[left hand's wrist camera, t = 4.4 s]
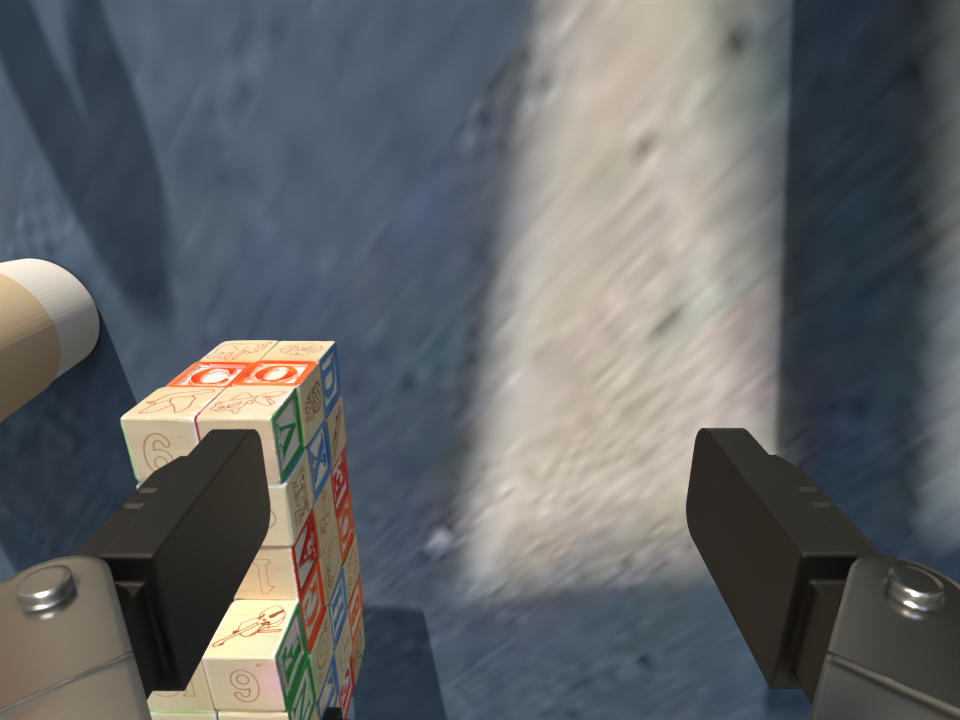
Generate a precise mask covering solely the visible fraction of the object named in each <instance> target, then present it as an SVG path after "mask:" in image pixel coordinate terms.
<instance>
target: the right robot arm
mask: <svg viewBox="0 0 960 720" xmlns="http://www.w3.org/2000/svg"><path fill="white" fill-rule="evenodd" d="M323 720H349V719H343V713H342V708H341V707H327V708H326V710H325V713H324V716H323Z"/></svg>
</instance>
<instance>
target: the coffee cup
mask: <svg viewBox="0 0 960 720" xmlns="http://www.w3.org/2000/svg"><path fill="white" fill-rule="evenodd" d="M98 336H99V316H98V312H97V309H96V306H95V304H94V302H93V300H92V298H91V296H90V294H89V293H88V291H87V290H86V289H85V287H84V286H83V285H82V284H81V283H80V282H79V281H78V280H77V279H76V278H75V277H74V276H73V275H72V274H70V273H69V272H68V271H66V270H65V269H63V268H61V267H59V266H57V265H55V264H53V263H50V262H47V261H44V260H39V259H21V260H15V261H9V262H4V263H0V422H1V421H3V420H4V419H6V418H7V417H8V416H10V415H11V414H12V413H14V412H15V411H16V410H18V409H19V408H21V407H22V406H23V405H25V404H26V403H27V402H29V401H30V400H31V399H33V398H34V397H36V396H37V395H38V394H40V393H41V392H42V391H44V390H45V389H46V388H47V387H48V386H49V385H50V384H51V382H52V381H53V380H55V379H56V378H58V377H59V376H60V375H62V374H63V373H65V372H66V371H67V370H69V369H70V368H72V367H73V366H74V365H76V364H77V363H79V362H80V361H82V360H83V359H84V358H86V357H87V356H88V355H89V354H90V353H91V351H92V350H93V349H94V347H95V345H96V343H97V340H98Z"/></svg>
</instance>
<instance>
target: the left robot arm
mask: <svg viewBox="0 0 960 720" xmlns="http://www.w3.org/2000/svg"><path fill="white" fill-rule="evenodd" d="M270 515H271V504H270V496H269V490H268V483H267V476H266V469H265V462H264V455H263V448H262V442H261V438H260V435H259V433H258V432H257V431H256V430H255V429H212V430H210V431H209V432H208V433H207V434H206V435H205V437H204V438H203V439H202V440H201V441H200V442H199V443H198V444H197V445H196V447H195V448H194V449H193V450H192V451H191V452H190V453H189V454H188V455H187V456H179V457H178V458H176V459H174V460H173V461H171V462H169V463H167V464H166V465H164V466H162V467H161V468H159V469H157V470H155V471H154V472H153V473H152V474H151V475H150V476H149V477H148V478H147V479H146V480H145V481H144V482H143V483H142V484H141V485H140V486H139V488H138V489H137V492H136V493H133V494H132V495H131V496H130V497H129V498H128V499H127V500H126V501H125V502H124V503H123V504H122V509H117V511H116V512H115V513H114V514H113V515H112V516H111V517H110V518H109V519H108V520H107V521H106V522H105V523H104V524H103V525H102V526H101V527H100V528H99V529H98V530H97V531H96V533H95V534H94V535H93V536H92V537H91V538H90V539H89V540H88V541H87V542H86V543H85V544H84V545H83V546H82V547H81V548H80V549H79V550H78V551H77V552H76V553H75V554H74V556H66V557H61V558H56V559H52V560H49V561H46V562H43V563H40V564H37V565H35V566H32V567H30V568H28V569H26V570H23V571H21V572H20V573H18V574H16V575H14V576H12V577H11V578H9V579H8V580H6V581H5V582H3V583H2V584H1V585H0V720H152V718H151V714H150V710H149V707H148V703H147V700H148V698H149V696H150V695H151V693H152V691H185V690H186V688H187V686H188V684H189V682H190V680H191V678H192V676H193V675H194V673H195V671H196V669H197V667H198V665H199V663H200V661H201V659H202V657H203V656H204V654H205V652H206V650H207V648H208V646H209V644H210V642H211V640H212V638H213V637H214V635H215V633H216V631H217V629H218V627H219V625H220V623H221V621H222V619H223V618H224V616H225V614H226V612H227V610H228V608H229V606H230V604H231V602H232V600H233V599H234V597H235V595H236V593H237V591H238V589H239V587H240V585H241V583H242V581H243V580H244V578H245V576H246V574H247V572H248V570H249V568H250V566H251V564H252V562H253V561H254V559H255V557H256V555H257V553H258V551H259V549H260V547H261V545H262V543H263V542H264V540H265V537H266V535H267V532H268V528H269V524H270ZM686 516H687V523H688V528H689V532H690V534H691V537H692V539H693V541H694V543H695V545H696V547H697V549H698V550H699V552H700V554H701V556H702V558H703V560H704V562H705V564H706V566H707V568H708V570H709V572H710V574H711V575H712V577H713V579H714V581H715V583H716V585H717V587H718V589H719V591H720V593H721V595H722V597H723V599H724V600H725V602H726V604H727V606H728V608H729V610H730V612H731V614H732V616H733V618H734V620H735V622H736V624H737V625H738V627H739V629H740V631H741V633H742V635H743V637H744V639H745V641H746V643H747V645H748V647H749V648H750V650H751V652H752V654H753V656H754V658H755V660H756V662H757V664H758V666H759V668H760V670H761V672H762V673H763V675H764V677H765V679H766V681H767V683H768V685H769V687H770V689H803V691H804V693H805V694H806V696H807V698H808V700H809V701H810V703H811V705H812V707H811V710H810V714H809V718H808V720H960V585H959V584H958V583H957V582H955V581H954V580H952V579H951V578H949V577H948V576H946V575H944V574H942V573H940V572H939V571H937V570H934V569H932V568H930V567H928V566H925V565H923V564H920V563H917V562H914V561H911V560H908V559H904V558H899V557H894V556H886V555H882V554H881V553H880V552H879V551H878V550H877V549H876V548H875V547H874V546H873V545H872V544H871V542H870V541H869V540H868V539H867V538H866V537H865V536H864V535H863V534H862V533H861V532H860V531H859V530H858V529H857V528H856V527H855V526H854V525H853V523H852V522H851V521H850V520H849V519H848V518H847V517H846V516H845V515H844V514H843V513H842V512H841V511H840V510H839V509H838V508H837V507H834V506H833V502H832V501H831V500H830V499H829V498H828V497H827V496H826V495H825V494H824V493H823V492H819V488H818V487H817V485H816V484H815V483H814V482H813V481H812V480H811V479H810V478H809V477H808V476H807V475H806V474H805V473H804V472H803V471H802V470H801V469H799V468H797V467H796V466H794V465H792V464H791V463H789V462H787V461H785V460H784V459H782V458H780V457H779V456H777V455H769V454H768V453H767V452H766V451H765V450H764V449H763V448H762V447H761V445H760V444H759V443H758V442H757V441H756V440H755V439H754V438H753V436H752V435H751V434H750V433H749V432H748V431H747V430H746V429H744V428H702V429H700V430H699V432H698V433H697V436H696V439H695V445H694V452H693V459H692V466H691V473H690V480H689V487H688V494H687V502H686Z"/></svg>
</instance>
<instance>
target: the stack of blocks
mask: <svg viewBox="0 0 960 720" xmlns="http://www.w3.org/2000/svg"><path fill="white" fill-rule="evenodd" d="M120 420H121V427H122V430H123V434H124V437H125V441H126V445H127V448H128V452H129V456H130V460H131V464H132V468H133V471H134V475H135V478H136V479H137V481H138V484H137V489H138V488H139V486H140V485H141V484H142V483H143V482H144V481H145V480H146V479H147V478H148V477H149V476H150V475H151V474H152V473H153V472H154V471H155V470H157V469H159V468H161V467H162V466H164V465H166V464H167V463H169V462H171V461H173V460H174V459H176V458H178V457H179V456H187V455H188V454H189V453H190V452H191V451H192V450H193V449H194V448H195V447H196V445H197V444H198V443H199V442H200V441H201V440H202V439H203V438H204V437H205V435H206V434H207V433H208V432H209V431H210V430H212V429H255V430H256V431H257V432H258V433H259V435H260V438H261V442H262V448H263V455H264V462H265V469H266V476H267V483H268V490H269V496H270V504H271V515H270V524H269V528H268V532H267V535H266V537H265V540H264V542H263V543H262V545H261V547H260V549H259V551H258V553H257V555H256V557H255V559H254V561H253V562H252V564H251V566H250V568H249V570H248V572H247V574H246V576H245V578H244V580H243V581H242V583H241V585H240V587H239V589H238V591H237V593H236V595H235V597H234V599H233V600H232V602H231V604H230V606H229V608H228V610H227V612H226V614H225V616H224V618H223V619H222V621H221V623H220V625H219V627H218V629H217V631H216V633H215V635H214V637H213V638H212V640H211V642H210V644H209V646H208V648H207V650H206V652H205V654H204V656H203V657H202V659H201V661H200V663H199V665H198V667H197V669H196V671H195V673H194V675H193V676H192V678H191V680H190V682H189V684H188V686H187V688H186V690H185V691H152V693H151V695H150V696H149V698H148V700H147V703H148V707H149V710H150V714H151V718H152V720H323V716H324V713H325V710H326V708H327V707H341V708H342V713H343V719H346V717H347V713H348V709H349V705H350V701H351V697H352V693H353V688H354V685H355V684H356V682H357V679H358V674H359V670H360V666H361V661H362V657H363V652H364V648H365V638H364V627H363V615H362V612H363V602H362V591H361V581H360V573H359V557H358V547H357V537H356V533H355V532H354V529H353V526H354V523H353V517H352V506H351V495H350V490H349V489H348V473H347V464H346V455H345V443H346V435H345V424H344V413H343V402H342V396H341V393H340V378H339V368H338V358H337V348H336V343H335V342H334V341H281V342H279V341H265V340H251V341H225V342H223V343H221V344H220V345H218V346H217V347H216V348H214V349H213V350H212V351H211V352H209V353H208V354H207V355H206V356H205V357H203V358H202V359H201V360H200V361H199V362H196V363H194V364H192V365H191V366H190V367H189V368H188V369H186V370H185V371H184V372H182V373H181V374H180V375H179V376H177V377H176V378H175V379H174V380H172V381H171V382H170V383H169V384H168V385H167V386H166V387H163V388H160V389H157V390H156V391H155V392H154V393H152V394H151V395H150V396H148V397H147V398H146V399H144V400H143V401H142V402H140V403H139V404H138V405H136V406H135V407H134V408H132V409H131V410H130V411H128V412H127V413H126V414H124V415H123V416H122V417H121V419H120Z"/></svg>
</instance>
